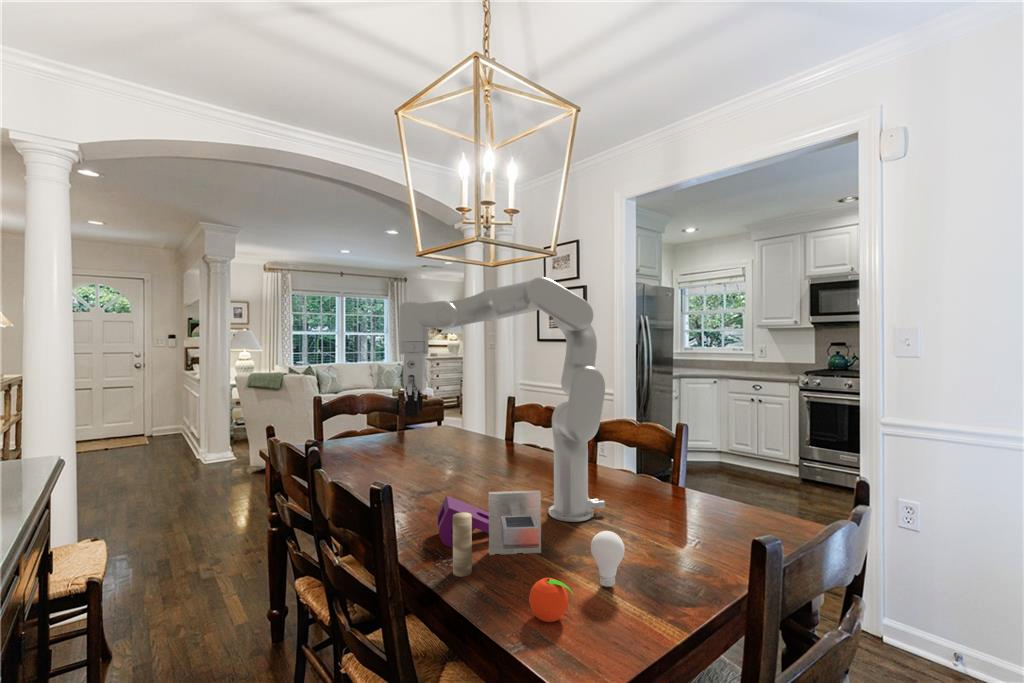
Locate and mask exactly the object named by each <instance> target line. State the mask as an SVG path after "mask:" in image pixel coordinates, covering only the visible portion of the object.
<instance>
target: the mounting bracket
mask: <svg viewBox="0 0 1024 683" xmlns="http://www.w3.org/2000/svg"><path fill="white" fill-rule="evenodd" d="M461 512H465V513H470V514H471V515H472V533H473V532H474V531H475V530H480V531H482V532H485V533H487V534H489V511H486V510H483V509H481V508H479V507H476V506H474V505H472V504H469V503H467V502H464V501H461V500H459V499H457V498H454V497H452V496H449V495H447V494H446V496H445V498H444V500H443V502H442V504H441V506H440V508H439V510H438V513H437V517H436V518H437V525H438V536H439V539H440V541H441V543H442V544H444V546H446V547H448V548H453V515H454V514H456V513H461Z"/></svg>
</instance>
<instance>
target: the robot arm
mask: <svg viewBox="0 0 1024 683" xmlns="http://www.w3.org/2000/svg"><path fill="white" fill-rule="evenodd" d="M539 310H540V311H542V312H543V313H545V314H546V315H548V316H550V317H551V318H552V320H553V322H554V324H555V326H556V327H557V328H558V329H559V330H560V331H561V332H562V333H563V335H564V337H565V341H566V342H565V343H566V347H565V357H564V358H565V359H564V363H563V370H562V373H561V374H562V375H561V379H560V384H561V388H562V390H563V392H564V393H565V394H566V395H567V396H568V401H565V402H561V403H559V404H558V405H557V406H556V407H555V408H554V409H553V412H552V416H551V429H552V431H551V432H552V437H553V438H552V439H553V505H551V506H550V507H548V515H549V516H550V517H552V519H555V520H558V521H562V522H567V523H568V522H569V523H570V522H571V523H578V522H579V523H580V522H584V521H589V520H590V519H591V518H593V517H594V515H595V514H594V509H597V508H598V509H605V508H606V503H605V500H599V499H598V498H593V499H591V498H590V497H589V448H588V442H589V441H590V440H592V439H593V438H594V437H595V436H596V435H597V433H598V430H599V428H600V425H601V419H602V418H601V417H602V413H603V409H604V408H603V407H604V401H605V395H606V381H605V378H604V376H603V374H602V373H601V371H600V370H599V369H598V368H596V367H595V366H596V358H597V356H596V355H597V350H598V342H597V336H596V332H595V330H594V328H593V326H592V323H593V321H594V311H593V310H594V309H593V308H592V306H591V304H590V303H589V302H588V301H587V300H586V299H584V298H583V297H581V296H579V295H577V294H576V293H575V292H572V291H571V290H569V289H568V288H566V287H564V286H563V285H561V284H559V283H558V282H556V281H554V280H552V279H551V278H548V277H545V276H537V277H535V278H533V279H531V280H526V281H521V282H518V283H513V284H508V285H504V286H498V287H494V288H489V289H486V290H483V291H481V292H479V293H477V294H474V295H470V296H467V297H465V298H464V297H463V298H459V299H455V300H450V301H447V300H437V301H431V302H430V301H429V302H427V301H426V302H424V301H404V302H401V303H400V304H399V312H398V313H399V316H398V323H399V324H398V325H399V326H398V327H399V328H398V329H399V331H398V332H399V333H398V334H399V335H398V336H399V337H398V338H399V355H403V367H402V368H403V370H402V372H403V375H402V376H403V391H404V392H405V400H404V408H405V409H404V412H405V413H404V415H405V417H418V415H419V412H421V411H423V410H424V398H423V397H424V396H423V392H424V391H425V390H426V389H427V370H426V369H427V367H426V366H427V365H426V363H427V362H426V355H429V329H430V328H431V329H436V330H440V331H443V330H444V331H446V330H449V329H453V328H456V327H457V328H458V327H462V326H466V325H470V324H474V323H475V324H476V323H480V322H492V321H495V320H497V321H498V320H500V319H505V318H509V317H514V316H518V315H522V314H528V313H532V312H536V311H539Z"/></svg>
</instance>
